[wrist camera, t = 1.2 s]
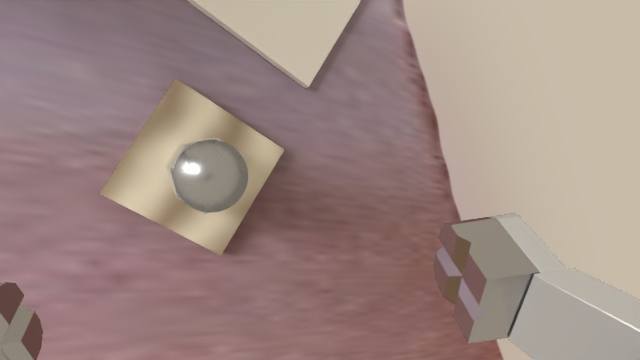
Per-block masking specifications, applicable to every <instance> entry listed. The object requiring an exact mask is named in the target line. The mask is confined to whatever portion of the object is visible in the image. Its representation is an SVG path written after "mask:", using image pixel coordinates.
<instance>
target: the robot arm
mask: <svg viewBox="0 0 640 360" xmlns="http://www.w3.org/2000/svg"><path fill="white" fill-rule="evenodd" d="M439 239H440V241H441V243H442V244H443V246H442V247H441V249H440V250H439V251H438V252H437V253H436V255H435V261H434V270H435V278H436V281H437V284H438V287H439V289H440V291H441V293H442V295H443V297H444V298H445V299H447V300H448V301H450V302H451V303H453V304H454V305H455V308H454V313H453V317H454V318H455V320H456V322H457V324H458V326H459V328H460V330H461V332H462V334H463V335H464V337H465V339H466V341H467V343H475V342H481V341H488V340H495V339H502V338H509V341H511V342H512V343H513V344H514V345H516V346H517V347H518V348H520V349H521V350H522V351H523V352H525V353H526V354H527V355H528V356H530V357H531V358H532V359H534V360H640V299H638V298H636V297H634V296H632V295H629V294H627V293H625V292H623V291H621V290H619V289H617V288H615V287H613V286H611V285H609V284H607V283H605V282H603V281H601V280H599V279H596V278H594V277H592V276H590V275H588V274H586V273H584V272H582V271H580V270H578V269H576V268H571V269H567V268H566V267H565V266H564V264H563V263H562V262H561V261H560V260H559V259H558V258H557V257H556V256H555V254H554V253H553V252H552V251H551V250H550V249H549V248H548V247H547V246H546V245H545V243H544V242H543V241H542V240H541V239H540V238H539V237H538V236H537V234H536V233H535V232H534V231H533V230H532V229H531V228H530V227H529V226H528V224H527V223H526V222H525V221H524V220H523V219H522V218H521V217H520V216H519V215H517V214H514V213H511V214H504V215H497V216H491V217H485V218H478V219H471V220H464V221H457V222H450V223H444V224H443V226H442V227H441V229H440V234H439ZM23 297H24V294H23V293H22V291H21V290H20V289H19V287H18V286H17V285H16V283H8V282H4V283H0V360H37V357H38V354H39V352H40V349H41V345H42V334H43V330H42V326H41V322H40V319H39V318H38V316H37V314H36V313H35V311H33V310H31V309H29V308H27V307H25V306H23V305H21V302H22V300H23Z"/></svg>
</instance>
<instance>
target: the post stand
mask: <svg viewBox="0 0 640 360" xmlns="http://www.w3.org/2000/svg"><path fill="white" fill-rule="evenodd" d="M216 137H217V138H219V139H220V140H222V141H223V142H225V143H228V144H230V145H231V146H233V147H234V148H235V149H237V150H238V151H239V152H241V153H242V155H243V158H244V160H245V162H246V165H247V169H248V183H247V187H246V190H245V192H244V194H243V195H242V197H241V198H240V199H239V200H238V202H236V203H235V204H234V206H232V207H230V208H228V209H226V210H223V211H219V212H212V213H206V214H204V213H202V212H200V211H198V210H196V209H194V208H192V207H190V206H189V205H187V204H186V203H184V202H182V201H180V200H178V198H177V196H176V195H175V193H174V191H173V189H172V186H171V182H170V178H169V175H168V171H167V167H166V164H167V163H168V161H169V159H170V158H171V156H172V155H173V153H174V152H175V150H176V149H177V147H178V145H179V144H182V143H187V142H191V141H196V140H201V139H207V138H216ZM283 151H284V149H283V148H281V147H280V146H278V145H277V144H275V143H274V142H272V141H271V140H269V139H268V138H266V137H265V136H263V135H261V134H260V133H258V132H257V131H255V130H254V129H252V128H251V127H249V126H248V125H246V124H245V123H243V122H242V121H240V120H239V119H237V118H236V117H234V116H233V115H231V114H230V113H228V112H227V111H225V110H224V109H222V108H221V107H219V106H217V105H216V104H214V103H213V102H211V101H210V100H208V99H207V98H205V97H204V96H202V95H201V94H199V93H198V92H196V91H195V90H193V89H192V88H190V87H189V86H187V85H186V84H184V83H183V82H181V81H180V80H178V79H177V78H175V80H174V81H173V83H172V84H171V86H170V87H169V89H168V90H167V92H166V93H165V95H164V96H163V98H162V99H161V101H160V102H159V104H158V105H157V107H156V108H155V110H154V112H153V113H152V115H151V116H150V118H149V119H148V121H147V122H146V124H145V125H144V127H143V128H142V130H141V131H140V133H139V134H138V136H137V137H136V139H135V140H134V142H133V143H132V145H131V146H130V148H129V150H128V151H127V153H126V154H125V156H124V157H123V159H122V160H121V162H120V163H119V165H118V166H117V168H116V169H115V171H114V172H113V174H112V175H111V177H110V178H109V180H108V181H107V183H106V184H105V186H104V188H103V189H102V191H101V192H100V194H101V195H103V196H105V197H107V198H109V199H111V200H113V201H115V202H117V203H119V204H121V205H123V206H125V207H127V208H129V209H131V210H133V211H135V212H137V213H139V214H140V215H142V216H144V217H146V218H148V219H150V220H152V221H154V222H156V223H158V224H160V225H162V226H164V227H166V228H168V229H170V230H172V231H174V232H176V233H178V234H180V235H182V236H184V237H186V238H188V239H189V240H191V241H193V242H195V243H197V244H199V245H201V246H203V247H205V248H207V249H209V250H211V251H213V252H215V253H217V254H219V255H222V253H223V252H224V250H225V248H226V247H227V245H228V243H229V241H230V240H231V238H232V236H233V235H234V233H235V231H236V230H237V228H238V226H239V225H240V223H241V221H242V220H243V218H244V216H245V215H246V213H247V211H248V210H249V208H250V206H251V205H252V203H253V201H254V200H255V198H256V196H257V195H258V193H259V191H260V190H261V188H262V186H263V185H264V183H265V181H266V180H267V178H268V176H269V175H270V173H271V171H272V170H273V168H274V166H275V165H276V163H277V161H278V160H279V158H280V156H281V155H282V153H283Z"/></svg>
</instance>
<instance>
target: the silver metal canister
mask: <svg viewBox="0 0 640 360" xmlns="http://www.w3.org/2000/svg"><path fill="white" fill-rule="evenodd" d="M166 167H167V171H168V175H169V178H170V182H171V186H172V189H173V191H174V193H175V195H176V196H177V198H178V200H180V201H182V202H184V203H186V204H187V205H189V206H190V207H192V208H194V209H196V210H198V211H200V212H202V213H204V214H206V213H212V212H219V211H223V210H226V209H228V208H230V207H232V206H234V204H235V203H236V202H238V200H239V199H240V198H241V197H242V195H243V194H244V192H245V190H246V187H247V183H248V169H247V165H246V162H245V160H244V158H243V155H242V153H241V152H239V151H238V150H237V149H235V148H234V147H233V146H231V145H230V144H228V143H225V142H223V141H222V140H220V139H219V138H217V137H216V138H207V139H201V140H196V141H191V142H187V143H182V144H179V145H178V147H177V149H176V150H175V152H174V153H173V155H172V156H171V158H170V159H169V161H168V163H167V164H166Z"/></svg>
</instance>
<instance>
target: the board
mask: <svg viewBox="0 0 640 360" xmlns="http://www.w3.org/2000/svg"><path fill="white" fill-rule="evenodd" d="M187 1H188V2H189V3H191V4H192V5H193V6H195V7H196V8H197V9H199V10H200V11H201V12H203V13H204V14H205V15H207V16H208V17H209V18H211V19H212V20H213V21H215V22H216V23H218V24H219V25H220V26H222V27H223V28H224V29H226V30H227V31H228V32H230V33H231V34H232V35H234V36H235V37H236V38H238V39H239V40H240V41H242V42H243V43H244V44H246V45H247V46H249V47H250V48H251V49H253V50H254V51H255V52H257V53H258V54H259V55H261V56H262V57H263V58H265V59H266V60H267V61H269V62H270V63H271V64H273V65H274V66H275V67H277V68H278V69H280V70H281V71H282V72H284V73H285V74H286V75H288V76H289V77H290V78H292V79H293V80H294V81H296V82H297V83H298V84H300V85H301V86H302V87H304V88H307V87H309V86H310V84H311V82H312V81H313V79H314V77H315V76H316V74H317V72H318V71H319V69H320V67H321V66H322V64H323V63H324V61H325V59H326V58H327V56H328V54H329V53H330V51H331V49H332V48H333V46H334V44H335V43H336V41H337V39H338V38H339V36H340V34H341V33H342V31H343V29H344V28H345V26H346V24H347V23H348V21H349V19H350V18H351V16H352V15H353V13H354V11H355V10H356V8H357V6H358V5H359V3H360V1H361V0H187Z"/></svg>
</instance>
